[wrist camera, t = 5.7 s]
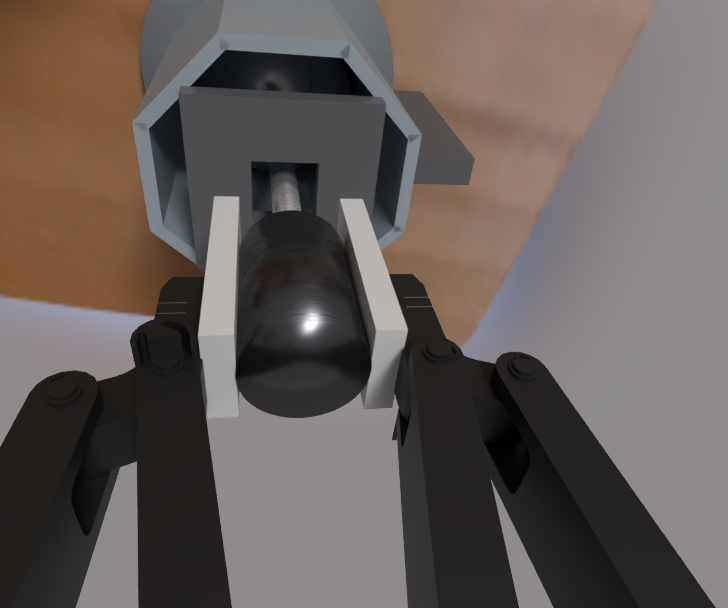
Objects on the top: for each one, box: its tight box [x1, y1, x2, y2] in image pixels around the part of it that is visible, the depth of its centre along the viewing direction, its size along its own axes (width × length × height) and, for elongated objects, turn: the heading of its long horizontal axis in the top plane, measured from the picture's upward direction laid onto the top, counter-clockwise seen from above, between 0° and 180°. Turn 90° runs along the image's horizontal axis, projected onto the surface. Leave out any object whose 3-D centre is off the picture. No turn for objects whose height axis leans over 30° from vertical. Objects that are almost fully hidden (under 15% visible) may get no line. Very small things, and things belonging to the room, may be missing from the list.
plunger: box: [194, 50, 372, 418], centre depth 20 cm, size 8×8×21 cm
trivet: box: [140, 0, 393, 92], centre depth 30 cm, size 14×14×1 cm
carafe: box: [132, 0, 475, 271], centre depth 25 cm, size 13×10×14 cm
